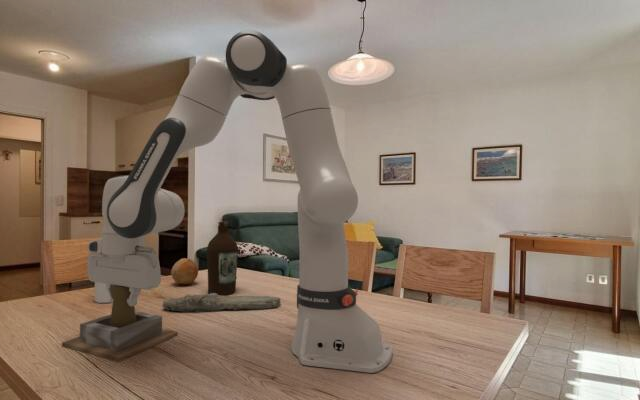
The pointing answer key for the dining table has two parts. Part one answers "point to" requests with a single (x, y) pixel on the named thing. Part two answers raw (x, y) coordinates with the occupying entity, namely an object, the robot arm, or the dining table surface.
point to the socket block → (120, 337)
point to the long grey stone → (219, 303)
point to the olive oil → (222, 262)
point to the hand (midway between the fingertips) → (123, 304)
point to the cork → (121, 307)
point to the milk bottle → (101, 293)
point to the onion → (184, 271)
